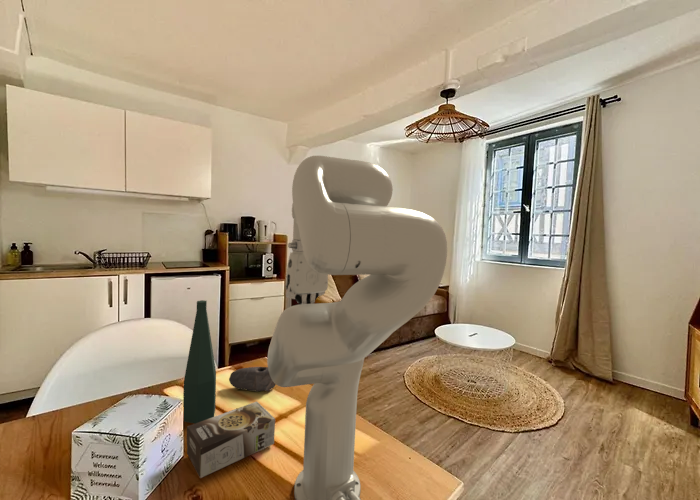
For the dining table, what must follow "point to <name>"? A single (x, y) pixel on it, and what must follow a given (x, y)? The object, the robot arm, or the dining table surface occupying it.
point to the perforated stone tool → (252, 379)
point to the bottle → (200, 371)
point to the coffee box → (229, 437)
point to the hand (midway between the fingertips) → (305, 319)
